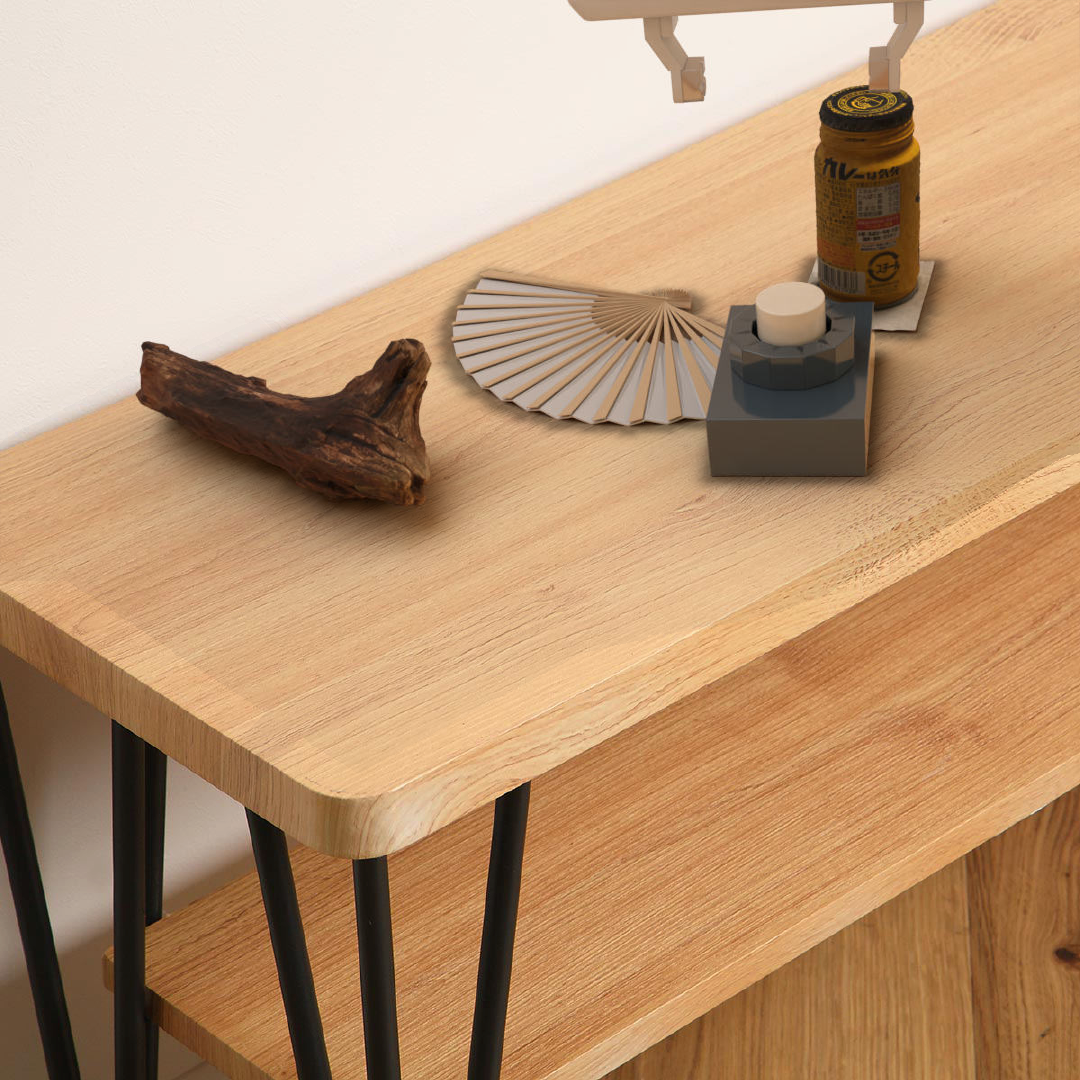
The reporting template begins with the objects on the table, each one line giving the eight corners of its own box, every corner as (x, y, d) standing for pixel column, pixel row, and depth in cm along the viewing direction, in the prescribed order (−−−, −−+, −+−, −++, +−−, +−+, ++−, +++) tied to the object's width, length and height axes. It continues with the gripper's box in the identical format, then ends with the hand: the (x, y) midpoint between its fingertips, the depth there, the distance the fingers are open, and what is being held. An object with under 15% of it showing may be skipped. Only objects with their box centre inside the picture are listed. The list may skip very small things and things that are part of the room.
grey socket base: (874, 355, 92) (873, 269, 89) (866, 476, 83) (863, 384, 80) (734, 358, 94) (728, 273, 91) (710, 476, 85) (702, 386, 82)
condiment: (934, 264, 100) (936, 76, 93) (915, 333, 94) (915, 137, 87) (816, 261, 102) (809, 77, 95) (790, 328, 96) (780, 137, 89)
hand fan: (528, 253, 109) (366, 353, 101) (527, 243, 109) (364, 341, 101) (862, 351, 93) (702, 478, 85) (862, 338, 93) (700, 465, 85)
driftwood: (497, 468, 88) (473, 339, 84) (409, 551, 83) (378, 418, 79) (194, 393, 100) (159, 276, 95) (101, 463, 95) (58, 342, 90)
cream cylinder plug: (828, 314, 87) (827, 280, 85) (824, 348, 84) (822, 313, 83) (760, 315, 88) (758, 281, 86) (754, 350, 85) (752, 315, 84)
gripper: (529, -169, 71) (567, 129, 79) (1014, -213, 67) (1001, 109, 75) (556, -205, 76) (588, 80, 84) (1009, -248, 71) (997, 58, 80)
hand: (786, 93), depth 79 cm, fingers open, 8 cm apart
